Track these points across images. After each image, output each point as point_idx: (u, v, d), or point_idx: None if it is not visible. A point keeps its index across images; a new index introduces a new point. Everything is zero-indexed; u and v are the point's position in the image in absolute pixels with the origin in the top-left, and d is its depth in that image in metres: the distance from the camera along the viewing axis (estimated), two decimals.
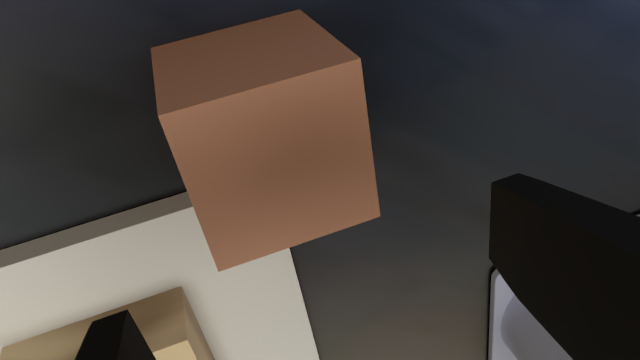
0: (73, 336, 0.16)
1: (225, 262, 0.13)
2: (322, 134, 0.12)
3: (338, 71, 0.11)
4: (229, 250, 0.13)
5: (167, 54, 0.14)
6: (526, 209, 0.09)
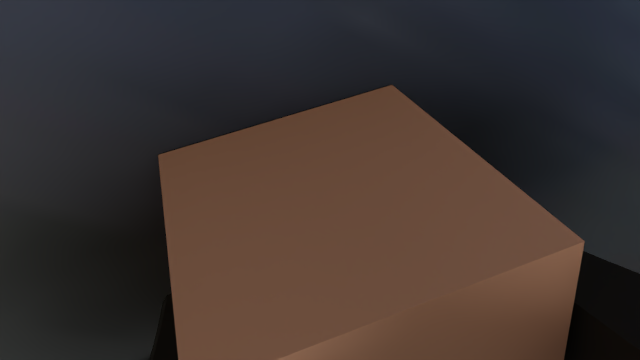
0: None
1: None
2: None
3: (539, 267, 0.06)
4: None
5: (187, 177, 0.08)
6: None
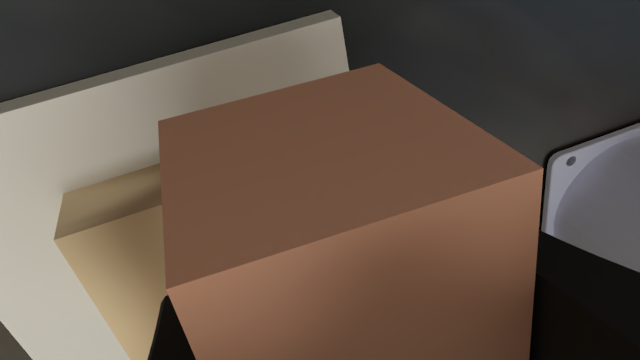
0: (137, 179, 0.16)
1: None
2: (458, 295, 0.07)
3: (502, 192, 0.06)
4: None
5: (184, 136, 0.09)
6: None
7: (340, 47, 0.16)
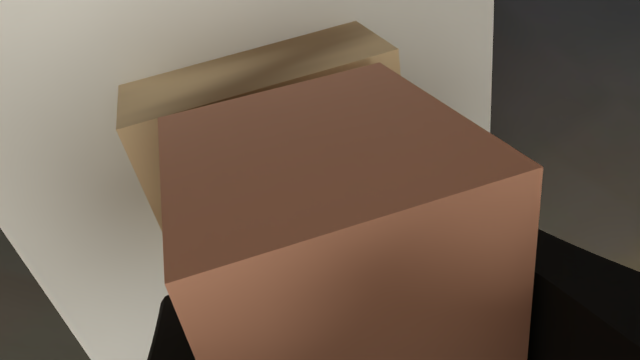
0: (220, 66, 0.12)
1: None
2: (457, 294, 0.07)
3: (501, 190, 0.06)
4: None
5: (183, 132, 0.09)
6: None
7: None
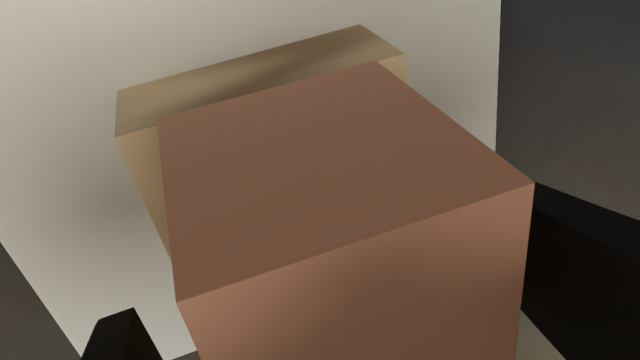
0: (221, 71, 0.11)
1: None
2: (450, 299, 0.07)
3: (494, 205, 0.06)
4: None
5: (183, 136, 0.09)
6: None
7: None
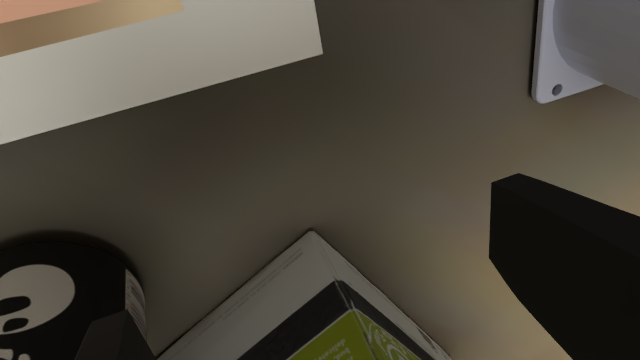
0: None
1: None
2: None
3: None
4: None
5: None
6: (526, 209, 0.09)
7: None
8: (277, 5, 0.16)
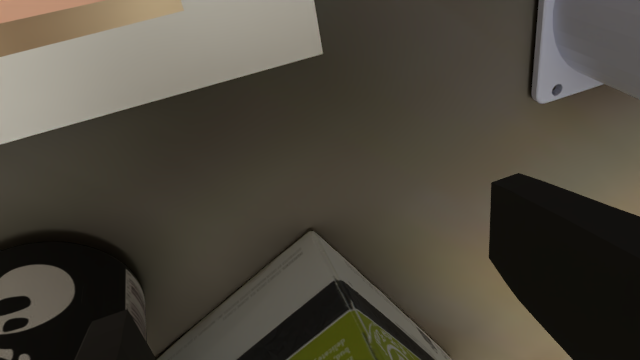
0: None
1: None
2: None
3: None
4: None
5: None
6: (526, 209, 0.09)
7: None
8: (277, 5, 0.16)
